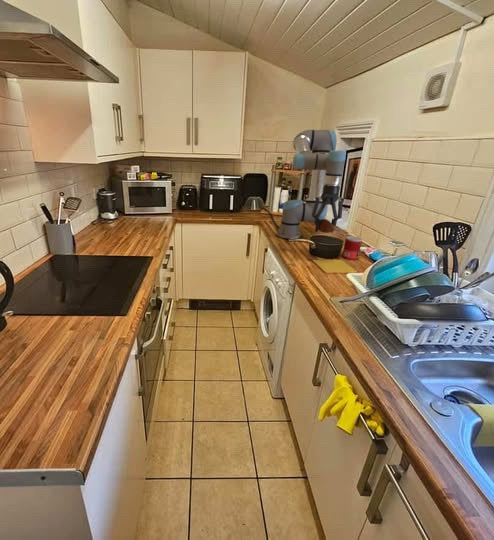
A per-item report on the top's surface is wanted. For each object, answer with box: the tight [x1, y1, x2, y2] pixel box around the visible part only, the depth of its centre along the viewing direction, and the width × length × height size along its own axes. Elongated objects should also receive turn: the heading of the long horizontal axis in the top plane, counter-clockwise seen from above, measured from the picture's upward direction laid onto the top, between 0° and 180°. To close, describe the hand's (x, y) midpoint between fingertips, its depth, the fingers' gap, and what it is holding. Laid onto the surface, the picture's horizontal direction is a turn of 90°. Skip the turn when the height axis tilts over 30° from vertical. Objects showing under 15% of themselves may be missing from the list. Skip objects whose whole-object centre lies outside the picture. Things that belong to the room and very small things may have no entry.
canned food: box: [341, 235, 363, 261], centre depth 161 cm, size 8×8×11 cm
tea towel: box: [312, 259, 358, 274], centre depth 151 cm, size 16×16×1 cm
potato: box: [318, 218, 336, 234], centre depth 151 cm, size 6×12×6 cm, turn 28°
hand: (323, 231), depth 152 cm, fingers closed on potato, 7 cm apart
